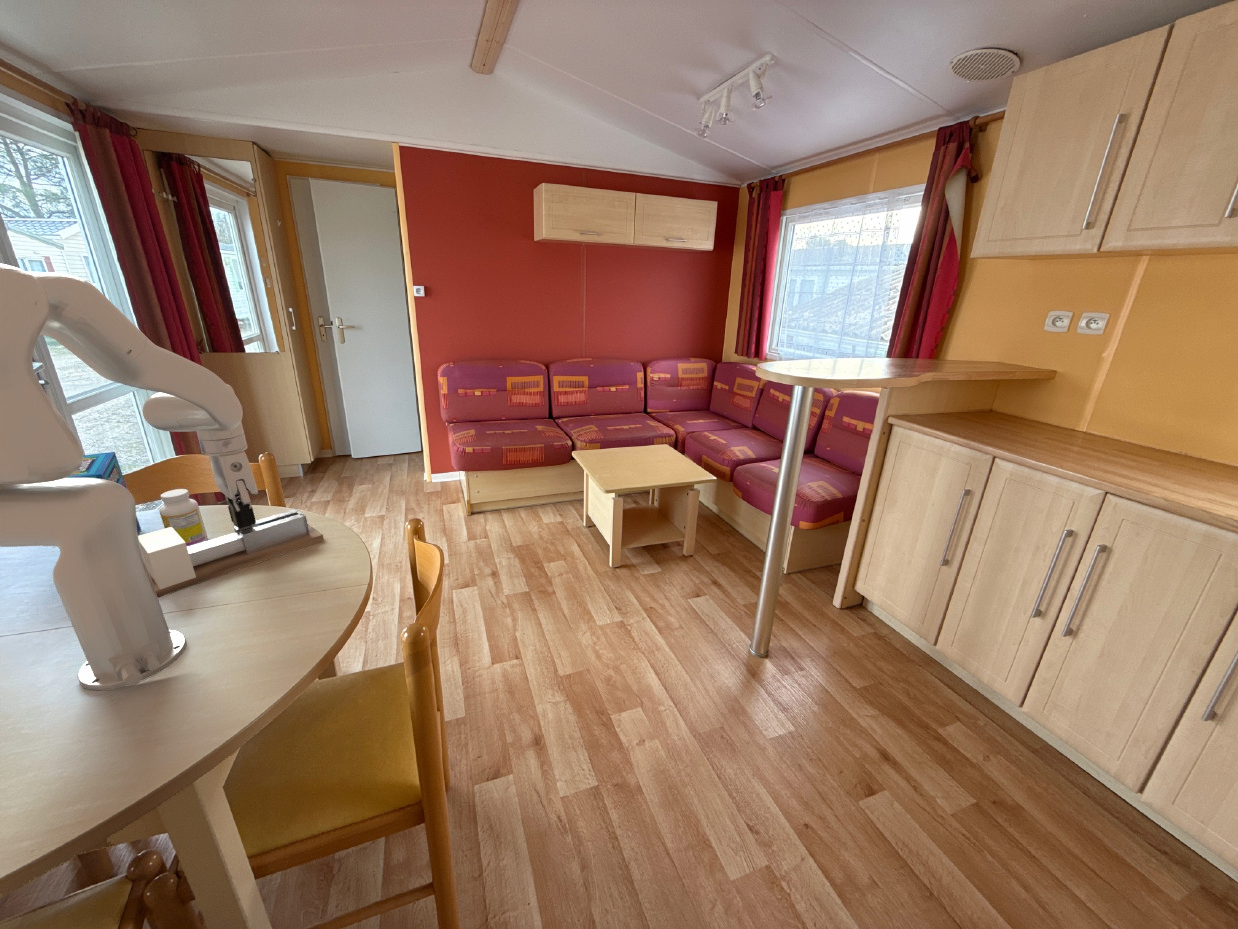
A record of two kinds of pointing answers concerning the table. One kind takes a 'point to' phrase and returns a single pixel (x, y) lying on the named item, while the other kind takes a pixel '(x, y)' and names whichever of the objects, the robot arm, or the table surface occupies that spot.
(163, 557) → the block
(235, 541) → the sliding bolt latch
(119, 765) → the table surface
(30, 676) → the table surface
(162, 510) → the supplement bottle
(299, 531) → the outer sleeve
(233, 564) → the base board
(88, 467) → the box
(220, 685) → the table surface
